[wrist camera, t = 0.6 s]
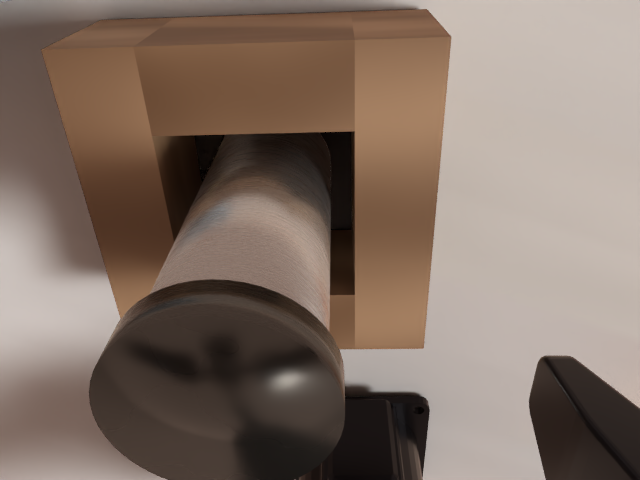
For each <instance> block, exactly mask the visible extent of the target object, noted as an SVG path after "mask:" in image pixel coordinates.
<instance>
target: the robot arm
mask: <svg viewBox="0 0 640 480" xmlns="http://www.w3.org/2000/svg"><path fill="white" fill-rule="evenodd" d="M417 407H418V408H417ZM529 408H530V415H531V419H532V423H533V427H534V432H535V436H536V440H537V444H538V449H539V453H540V457H541V461H542V465H543V470H544V474H545V478H546V480H640V408H639V407H637V406H636V405H635V404H633V403H632V402H631V401H629V400H628V399H627V398H626V397H624V396H623V395H622V394H620V393H619V392H618V391H616V390H615V389H614V388H613V387H611V386H610V385H609V384H607V383H606V382H605V381H603V380H602V379H601V378H600V377H598V376H597V375H596V374H594V373H593V372H592V371H590V370H589V369H588V368H587V367H585V366H584V365H583V364H581V363H580V362H579V361H577V360H576V359H574V358H573V357H571V356H543V357H541V358H540V360H539V362H538V364H537V368H536V372H535V376H534V381H533V385H532V389H531V393H530V398H529ZM429 411H430V410H429V405H428V401H427V399H426V398H424V397H419V396H389V397H345V421H344V427H343V431H342V435H341V437H340V439H339V441H338V443H337V445H336V447H335V448H334V450H333V451H332V452H331V454H330V455H329V456H328V457H327V458H326V459H325V460H324V461H323V462H322V463H321V464H320V465H318V466H317V467H316V468H314V469H313V470H312V471H310V472H308V473H306V474H305V475H303V476H301V477H299V478H297V479H296V480H423V479H422V477H423V468H424V458H425V449H426V439H427V430H428V420H429Z"/></svg>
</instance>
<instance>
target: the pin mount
mask: <svg viewBox="0 0 640 480" xmlns="http://www.w3.org/2000/svg"><path fill="white" fill-rule="evenodd" d="M450 46H451V36H450V35H449V34H448V33H447V31H446V30H445V29H444V28H443V27H442V26H441V25H440V23H439V22H438V21H437V20H436V19H435V18H434V17H433V16H432V14H431V13H430V12H429V11H428V10H427V9H421V10H391V11H360V12H330V13H300V14H270V15H240V16H209V17H179V18H149V19H119V20H100V21H98V22H96V23H94V24H92V25H90V26H88V27H86V28H84V29H82V30H80V31H78V32H76V33H74V34H72V35H70V36H68V37H66V38H64V39H62V40H60V41H58V42H56V43H53V44H51V45H49V46H47V47H45V48H43V49H41V51H42V55H43V58H44V61H45V65H46V68H47V71H48V75H49V78H50V82H51V85H52V88H53V92H54V95H55V98H56V102H57V105H58V109H59V112H60V115H61V119H62V122H63V126H64V129H65V132H66V136H67V139H68V142H69V146H70V149H71V153H72V156H73V159H74V163H75V166H76V169H77V173H78V176H79V180H80V183H81V186H82V190H83V193H84V196H85V200H86V203H87V207H88V210H89V213H90V217H91V220H92V223H93V227H94V230H95V234H96V237H97V240H98V244H99V247H100V250H101V254H102V257H103V261H104V264H105V267H106V271H107V274H108V277H109V281H110V284H111V288H112V291H113V294H114V298H115V301H116V304H117V308H118V311H119V315H120V318H122V317H123V316H124V314H125V313H126V312H127V311H128V310H129V309H130V308H131V307H132V306H133V305H134V304H136V303H137V302H138V301H140V300H141V299H143V298H144V297H146V296H147V295H149V294H150V292H151V290H152V288H153V286H154V284H155V282H156V280H157V278H158V275H159V273H160V271H161V269H162V267H163V265H164V263H165V261H166V259H167V256H168V254H169V252H170V250H171V248H172V246H173V244H174V242H175V240H176V238H177V235H178V233H179V231H180V229H181V227H182V225H183V223H184V221H185V219H186V216H187V214H188V212H189V210H190V208H191V206H192V204H193V202H194V200H195V198H196V195H197V193H198V191H199V189H200V187H201V185H202V180H201V174H200V168H199V162H198V156H197V150H196V144H195V138H194V135H225V134H266V133H306V132H347V131H351V197H352V230H331V242H330V322H329V332H330V334H331V335H332V337H333V338H334V340H335V342H336V344H337V346H338V348H339V349H419V348H424V338H425V326H426V315H427V304H428V293H429V281H430V270H431V259H432V248H433V236H434V225H435V214H436V203H437V192H438V180H439V169H440V158H441V147H442V135H443V124H444V113H445V102H446V90H447V79H448V68H449V57H450Z"/></svg>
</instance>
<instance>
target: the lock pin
mask: <svg viewBox="0 0 640 480" xmlns="http://www.w3.org/2000/svg"><path fill="white" fill-rule="evenodd" d="M330 242H331V156H330V152H329V149H328V146H327V144H326V142H325V140H324V139H323V137H322V136H321V134H320V133H319V132H306V133H266V134H226V135H225V137H224V139H223V141H222V143H221V145H220V147H219V149H218V151H217V153H216V155H215V158H214V160H213V162H212V164H211V166H210V168H209V170H208V172H207V174H206V176H205V179H204V181H203V183H202V185H201V187H200V189H199V191H198V193H197V195H196V198H195V200H194V202H193V204H192V206H191V208H190V210H189V212H188V214H187V216H186V219H185V221H184V223H183V225H182V227H181V229H180V231H179V233H178V235H177V238H176V240H175V242H174V244H173V246H172V248H171V250H170V252H169V254H168V256H167V259H166V261H165V263H164V265H163V267H162V269H161V271H160V273H159V275H158V278H157V280H156V282H155V284H154V286H153V288H152V290H151V292H150V294H149V295H147V296H146V297H144V298H143V299H141V300H140V301H138V302H137V303H136V304H134V305H133V306H132V307H131V308H130V309H129V310H128V311H127V312H126V313H125V314H124V316H123V317H122V318H121V319H120V321H119V322H118V324H117V326H116V328H115V330H114V332H113V334H112V336H111V337H110V339H109V341H108V343H107V345H106V347H105V349H104V351H103V353H102V355H101V357H100V359H99V361H98V363H97V364H96V366H95V368H94V371H93V374H92V377H91V380H90V388H89V398H90V405H91V409H92V413H93V416H94V418H95V420H96V422H97V424H98V426H99V428H100V429H101V431H102V432H103V434H104V435H105V437H106V438H107V439H108V440H109V441H110V442H111V444H112V445H113V446H114V447H115V448H116V449H117V450H119V451H120V452H121V453H122V454H123V455H124V456H126V457H127V458H128V459H130V460H131V461H132V462H134V463H135V464H137V465H139V466H140V467H142V468H144V469H145V470H147V471H149V472H151V473H153V474H156V475H158V476H160V477H162V478H165V479H168V480H294V479H297V478H299V477H301V476H303V475H305V474H306V473H308V472H310V471H312V470H313V469H314V468H316V467H317V466H318V465H320V464H321V463H322V462H323V461H324V460H325V459H326V458H327V457H328V456H329V455H330V454H331V452H332V451H333V450H334V448H335V447H336V445H337V443H338V441H339V439H340V437H341V435H342V431H343V427H344V421H345V387H344V366H343V360H342V357H341V353H340V350H339V348H338V346H337V344H336V342H335V340H334V338H333V337H332V335H331V334H330V332H329V322H330Z"/></svg>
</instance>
